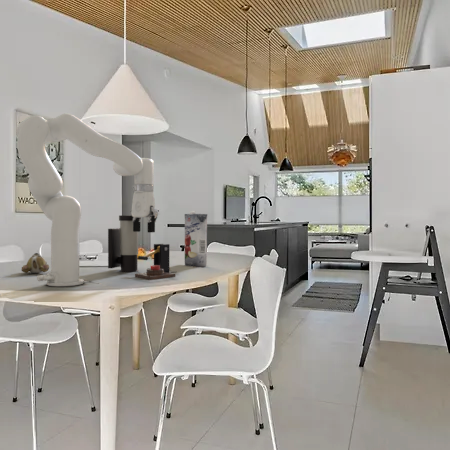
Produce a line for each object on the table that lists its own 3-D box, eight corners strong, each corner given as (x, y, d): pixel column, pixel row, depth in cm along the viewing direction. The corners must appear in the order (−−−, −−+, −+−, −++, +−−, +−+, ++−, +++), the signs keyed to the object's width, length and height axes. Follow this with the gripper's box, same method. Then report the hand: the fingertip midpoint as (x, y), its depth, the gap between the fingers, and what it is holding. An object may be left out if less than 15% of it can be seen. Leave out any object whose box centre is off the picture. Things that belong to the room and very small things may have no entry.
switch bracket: (157, 276, 175) (157, 245, 175) (146, 274, 181) (146, 244, 180) (176, 274, 182) (177, 244, 182) (165, 272, 188) (165, 243, 187)
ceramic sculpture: (50, 250, 193) (48, 255, 179) (51, 269, 194) (48, 276, 179) (24, 251, 190) (19, 256, 175) (25, 270, 190) (20, 277, 176)
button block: (150, 282, 160) (150, 271, 160) (134, 279, 167) (134, 269, 167) (175, 279, 169) (175, 269, 169) (159, 276, 176) (159, 266, 176)
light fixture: (132, 275, 178) (132, 215, 178) (107, 274, 180) (107, 215, 180) (143, 271, 190) (143, 215, 190) (120, 271, 192) (120, 215, 192)
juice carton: (196, 264, 220) (197, 211, 219) (209, 266, 211) (209, 211, 211) (182, 265, 214) (182, 211, 213) (194, 267, 206) (194, 210, 205)
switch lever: (146, 261, 172) (144, 256, 172) (138, 260, 176) (137, 255, 175) (168, 250, 181) (167, 244, 180) (161, 249, 184) (159, 244, 183)
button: (154, 271, 165) (154, 266, 165) (148, 270, 168) (148, 265, 168) (161, 270, 168) (161, 265, 168) (156, 269, 170) (156, 264, 170)
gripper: (123, 189, 177) (123, 231, 177) (149, 188, 165) (149, 232, 165) (139, 190, 182) (139, 231, 183) (164, 189, 171) (164, 232, 171)
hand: (143, 231), depth 174 cm, fingers open, 9 cm apart
